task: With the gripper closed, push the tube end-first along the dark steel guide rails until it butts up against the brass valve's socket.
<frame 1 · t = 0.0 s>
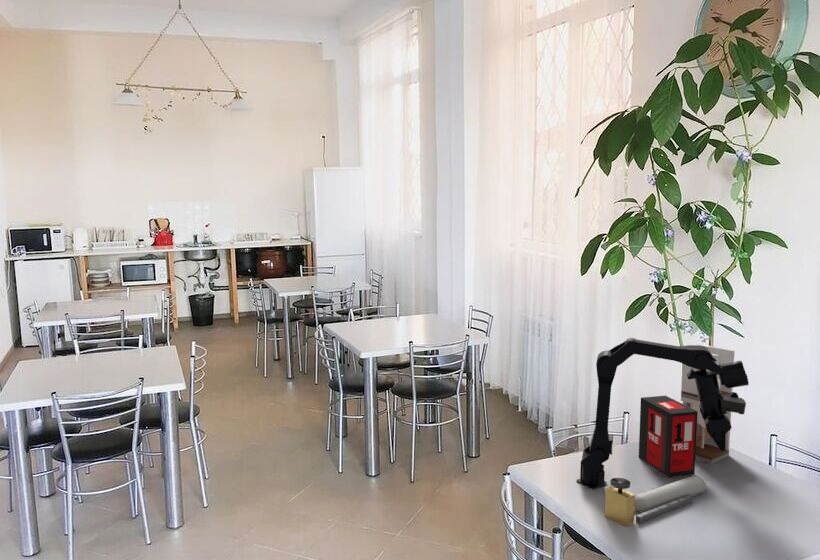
hand: (721, 444, 195), 15 cm above the table, tool pointing down, fingers open, 9 cm apart
display case: (703, 455, 228), on the table
tube: (668, 503, 194), on the table
cleaning product box: (665, 466, 219), on the table
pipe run: (654, 506, 192), on the table
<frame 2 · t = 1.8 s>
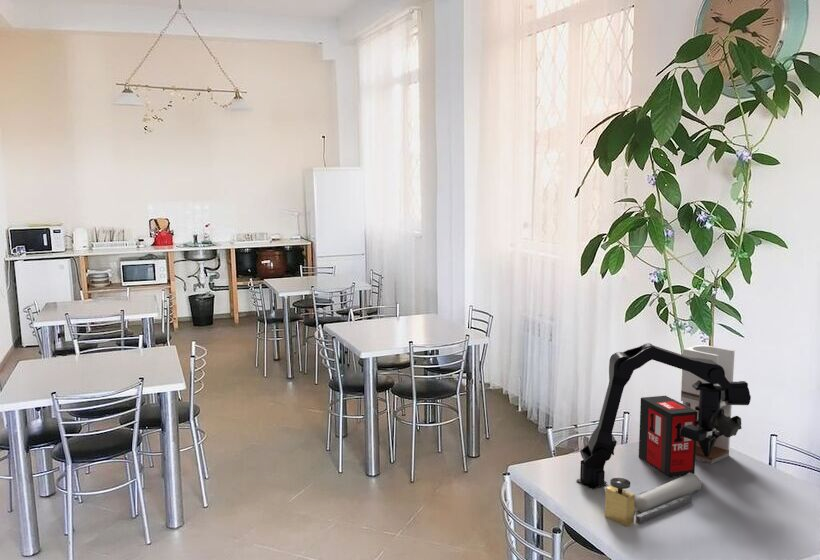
hand: (706, 456, 203), 9 cm above the table, tool pointing down, fingers closed
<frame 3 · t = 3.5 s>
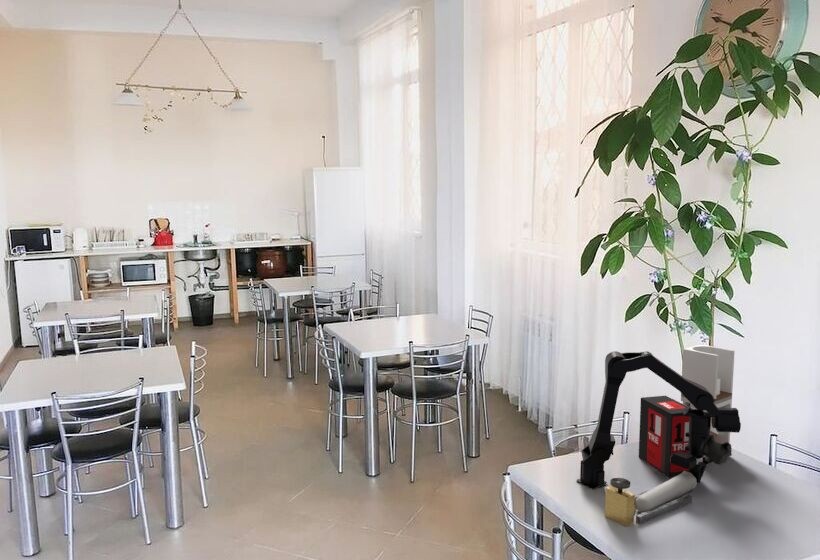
hand: (697, 482, 202), 2 cm above the table, tool pointing down, fingers closed
tube: (664, 502, 195), on the table, touching gripper
everything else where it was.
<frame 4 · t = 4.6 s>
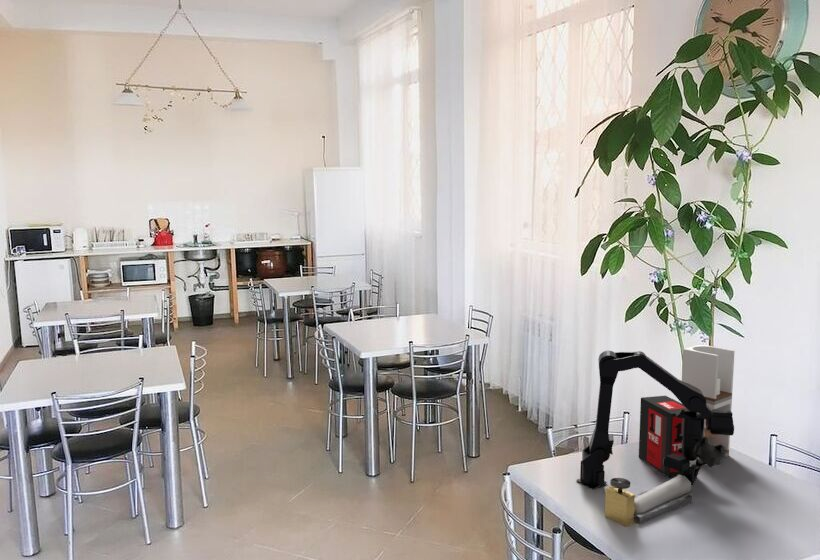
hand: (691, 485, 200), 2 cm above the table, tool pointing down, fingers closed
tube: (658, 505, 193), on the table, touching gripper
everything else where it was.
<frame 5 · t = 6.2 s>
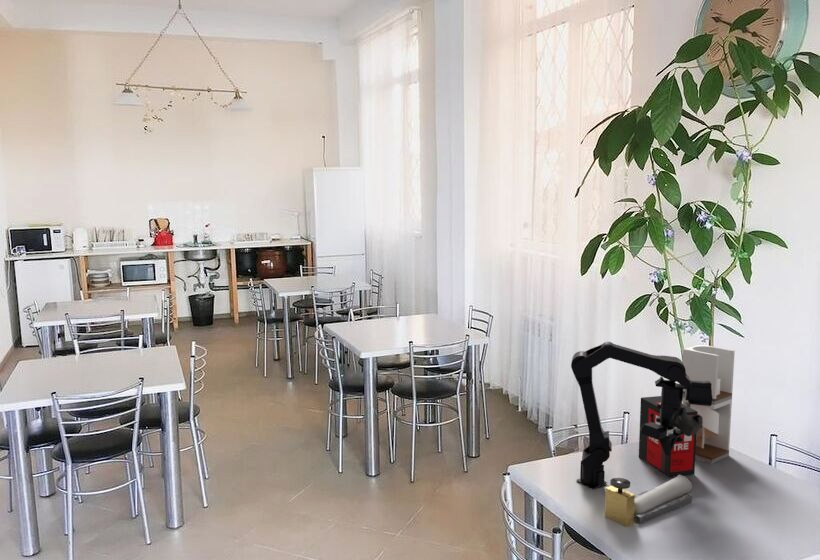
hand: (667, 454, 200), 11 cm above the table, tool pointing down, fingers closed
tube: (658, 506, 193), on the table
everything else where it was.
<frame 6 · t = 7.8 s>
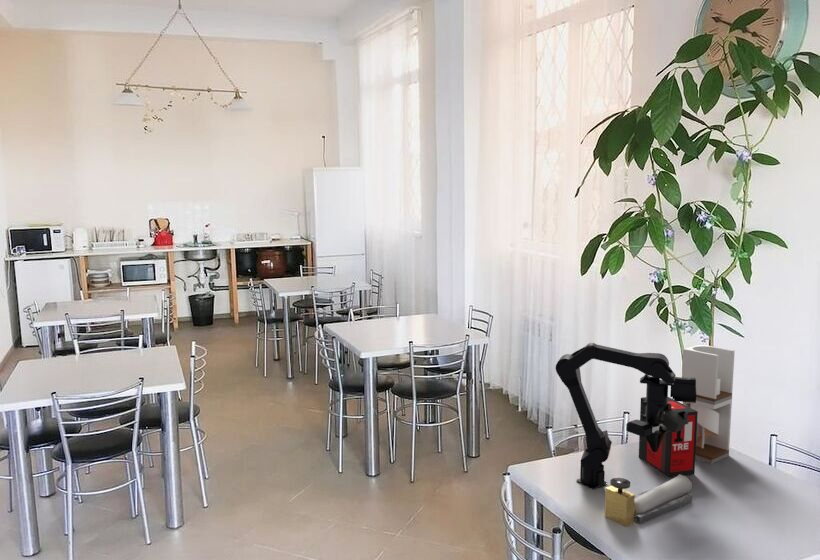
hand: (654, 451, 199), 12 cm above the table, tool pointing down, fingers closed
nothing on the table moved.
at the end: tube 0.2 cm from the target spot, on the table; tube moved 3.2 cm from its start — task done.
